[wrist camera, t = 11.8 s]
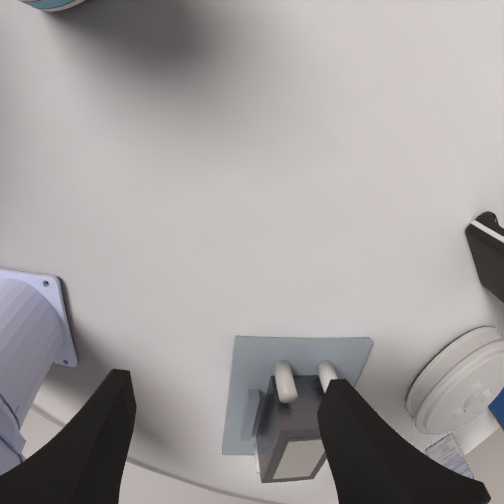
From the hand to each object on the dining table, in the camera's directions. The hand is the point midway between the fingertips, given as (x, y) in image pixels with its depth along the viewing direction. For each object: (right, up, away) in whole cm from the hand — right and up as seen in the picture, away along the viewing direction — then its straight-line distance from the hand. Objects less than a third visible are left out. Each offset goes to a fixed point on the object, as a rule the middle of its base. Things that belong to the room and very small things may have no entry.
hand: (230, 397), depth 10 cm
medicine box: (+29, -24, +24) cm, 45 cm away
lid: (+22, -7, +16) cm, 28 cm away
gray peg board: (+4, -8, +14) cm, 16 cm away
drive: (+4, -8, +13) cm, 16 cm away
